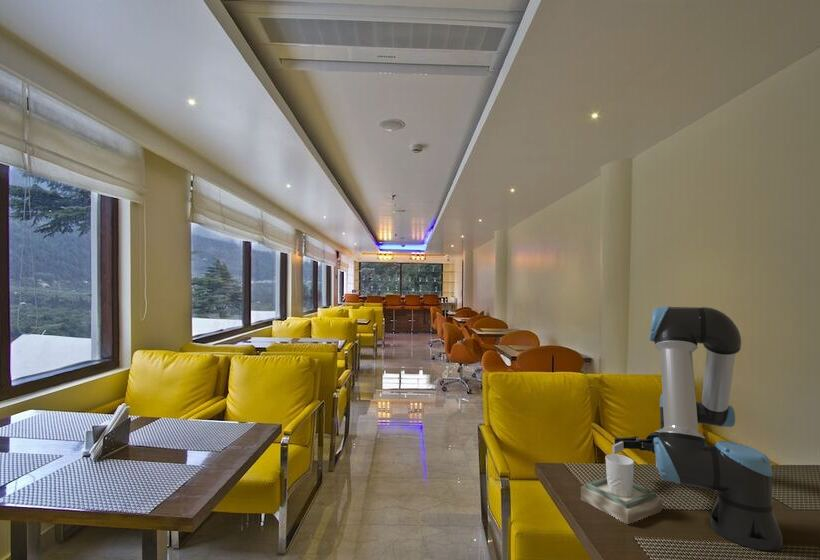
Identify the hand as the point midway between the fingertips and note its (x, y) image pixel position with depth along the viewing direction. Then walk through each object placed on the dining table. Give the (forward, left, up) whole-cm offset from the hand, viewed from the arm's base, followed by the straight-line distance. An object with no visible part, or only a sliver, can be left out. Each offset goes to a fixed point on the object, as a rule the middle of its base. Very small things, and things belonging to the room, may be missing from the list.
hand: (634, 456), depth 130 cm
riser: (-2, +10, -13) cm, 16 cm away
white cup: (-2, +10, -9) cm, 13 cm away
